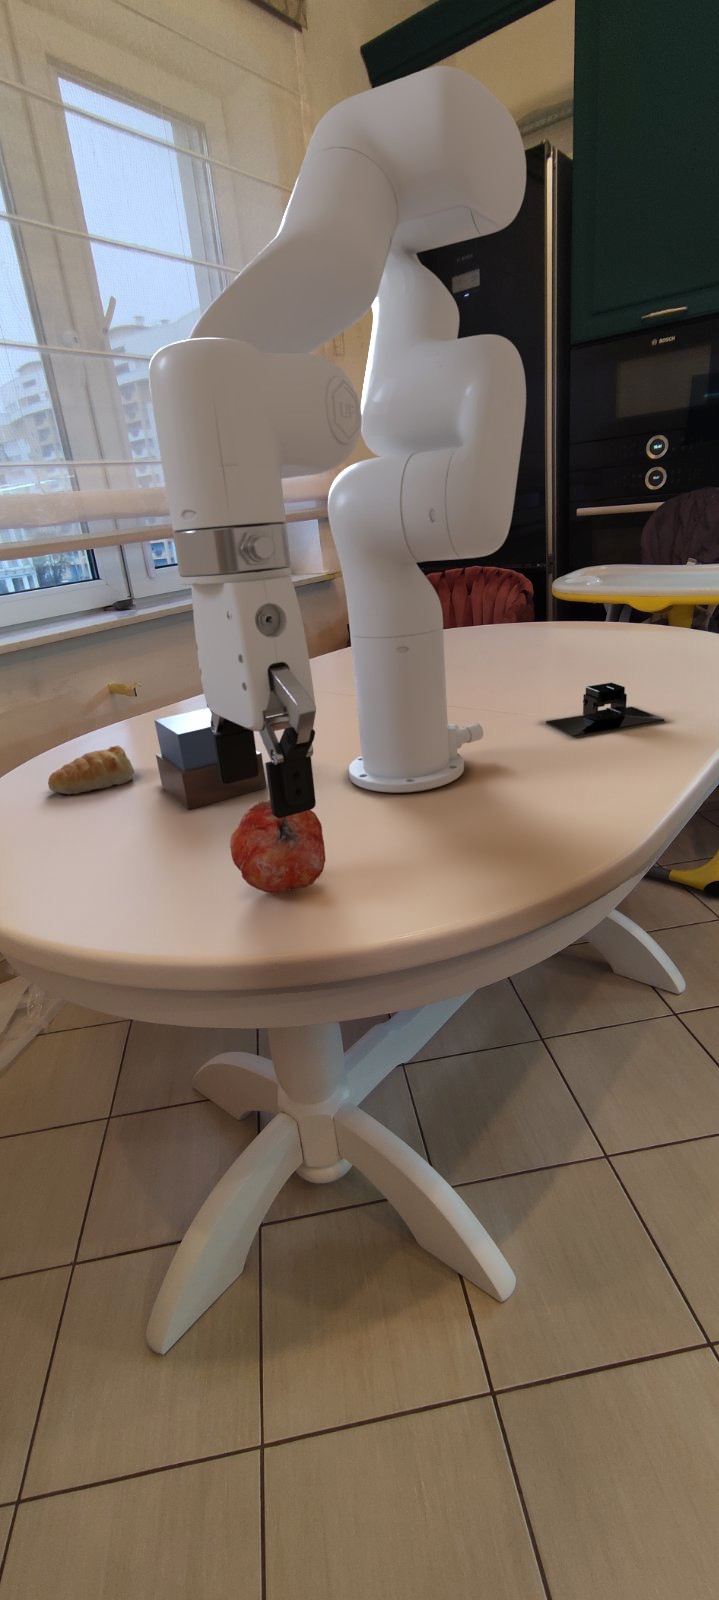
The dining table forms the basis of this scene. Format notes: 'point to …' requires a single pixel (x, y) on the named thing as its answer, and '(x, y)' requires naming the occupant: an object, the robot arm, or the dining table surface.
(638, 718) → the build plate
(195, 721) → the top block
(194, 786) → the base block
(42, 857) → the dining table surface
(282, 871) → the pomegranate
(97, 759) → the pastry
